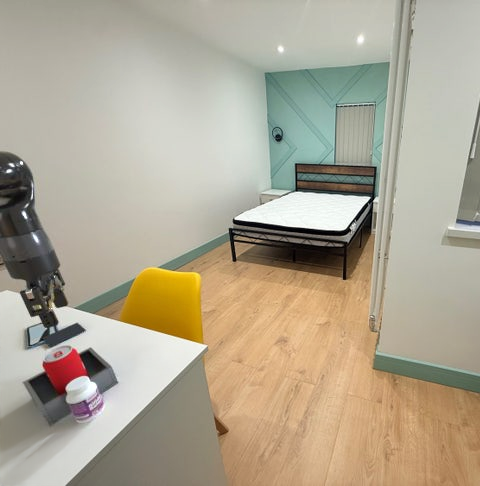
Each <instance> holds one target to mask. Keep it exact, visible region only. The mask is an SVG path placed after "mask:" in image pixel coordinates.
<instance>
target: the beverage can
mask: <svg viewBox="0 0 480 486" xmlns="http://www.w3.org/2000/svg"><path fill="white" fill-rule="evenodd" d="M78 353H79V352H78V351H77V349H76V348H74V347H72V346H71V345H70V344H69V345H67V344H65V345H61V346H58V347H55V348H53V349H52V350H49V351H48V352H47V353H45V354H44V355H43V357H42V365H41V366H42V368H43V371H45V372H46V373H47V375H48V377H49V379H50V381H51V382H52V384H53V386H54V388H55V390H56V391H57V393H58V395H59V396H60V395H62V394H64V393H65V392H67V391H66V386H67V385H68V384H69V383H70V382H71V381H72V380H74V379H76V378H78V377H81V376H87V377H89V375H88V373H87V371H86V369H85V367H84V365H83V363H82V361H81V358H80V356H79V354H78ZM89 378H90V377H89Z"/></svg>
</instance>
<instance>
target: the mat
mask: <svg viewBox="0 0 480 486" xmlns="http://www.w3.org/2000/svg"><path fill="white" fill-rule="evenodd" d="M84 331H85V332H86V331H87V330H86V329H85V327H83V326H82V325H81V324H80V323H79V322H75V323H73V324H71V325H68V326H66V327H64V328H61V329H58V331H57V332H54V333H52V334H50V335H48V336H45V337H43V339H44V340H45V342H46V343H45V344H46V345H47V346H48V347H49V348H53V347H55V346H57V345H59V344H61V343H64V342H66V341H68V340H70V339H72V338H74V337H76V336H78V334H79V335H80V333H81V334H82V332H83V333H85V332H84Z"/></svg>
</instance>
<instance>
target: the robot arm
mask: <svg viewBox="0 0 480 486" xmlns="http://www.w3.org/2000/svg"><path fill="white" fill-rule="evenodd" d="M35 192H36V191H35V179H34V175H33V172H32V170H31V168H30V166H29V165H28V164H27V162H26V161H25V160H24V159H23V158H21V157H20V156H19V155H18V154H16V153H13V152H10V151H4V150H0V259H1V261H2V262H3V263H2V264H4V267H5V269H6V270H7V272H8V275H9V276H10V278H11V279H13V280H21V281H25V283H26V285H25V289H24V290H23V289H22V290H19V295H20V297H21V299H22V301H23V304H24V306H25V308H26V310H27V312H28V315H29V317H31V318H35V317H38V318H39V321H40V323H41V322H42V324H43V326H44V327H45V328H50V327H54V326H57V327H58V325H59V322H60V321H59V319H58V317H57V314H56V313H55V311H54V307H55V308H56V309H61V308H64V307H65V308H66V307H67V306H68V305H69V301H68V299H67V296H66V294H65V292H64V291H65V287H64V286H66V282H65V280H64V277H63V275H62V273H61V272H60V271H61V270H60V269H59V268H60V267H61V262H60V260H59V258H58V255H57V252H56V251H55V248H54V245H53V243H52V241H51V239H50V236H49V234H47V232H46V230H45V228H44V227H43V224H42V222H41V219H40V216H39V215H38V212H37V210H36V193H35ZM53 305H54V307H53Z"/></svg>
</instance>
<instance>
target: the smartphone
mask: <svg viewBox="0 0 480 486" xmlns="http://www.w3.org/2000/svg"><path fill="white" fill-rule="evenodd" d="M57 331H59V328H58V325H57V326H54V327H50V328H45V327H44V326H43V324H42V322H41V321H40V322H38V323H35V324H33V325H31V326H28V327H26V328H25V334H26V335H25V336H26V337H25V338H26V347H27V349H28V350H31V349H34V348H37V347H38V346H42V345H44V344H47V343H46V342H45V340H44V339H43V337H45V336H48V335H50V334H52V333H54V332H57Z"/></svg>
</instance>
